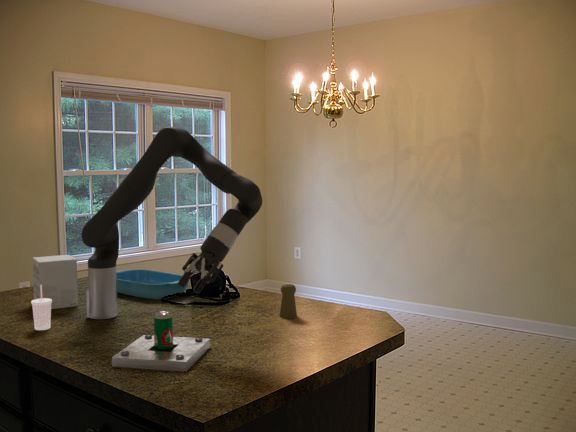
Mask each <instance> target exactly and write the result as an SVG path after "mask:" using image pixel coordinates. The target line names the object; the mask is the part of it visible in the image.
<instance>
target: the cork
mask: <svg viewBox="0 0 576 432" xmlns="http://www.w3.org/2000/svg"><path fill="white" fill-rule="evenodd" d="M296 290H297V288H296V286H295V285H294V284H291V283H284V284H282V285H281V287H280V292H281V294H282V295H281V302H280V309H279V318H281V319H295V318H297V317H298V312H297V306H296V305H297V304H296V297H295V294H296V292H297V291H296Z"/></svg>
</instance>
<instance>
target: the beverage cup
mask: <svg viewBox="0 0 576 432" xmlns="http://www.w3.org/2000/svg"><path fill="white" fill-rule="evenodd" d="M40 290H41V298H40V299H34V298H33V299H32V300H31V301H30V303H31V307H32V316H33V325H34V330H36V331H46V330H49V329H51V324H52V323H51V319H52V318H51V317H52V309H51V303H52V299H50V298H42V285H40Z"/></svg>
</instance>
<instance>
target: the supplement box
mask: <svg viewBox="0 0 576 432" xmlns="http://www.w3.org/2000/svg"><path fill="white" fill-rule="evenodd" d="M77 262H78V259H77V258H75V257H73V256H71V255H70V254H59V255H58V254H57V255H47V256H33V257H32V274H33V275H32V277H33V278H32V279H33V280H32V281H33V300H34V299H40V298H41V290H40V285H42V298H50V299H52V303H51V310H56V309H65V308H73V307H78V306H79V292H78V287H79V286H78V285H79V284H78V263H77Z"/></svg>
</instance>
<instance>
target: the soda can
mask: <svg viewBox="0 0 576 432" xmlns="http://www.w3.org/2000/svg"><path fill="white" fill-rule="evenodd" d="M153 336H154V351H162V352H171V351H172V350H173V337H174V317H173V314H172V312H171V311H168V310H167V311H166V310H163V311H162V310H161V311H157V312H155V313H154V316H153Z"/></svg>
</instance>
